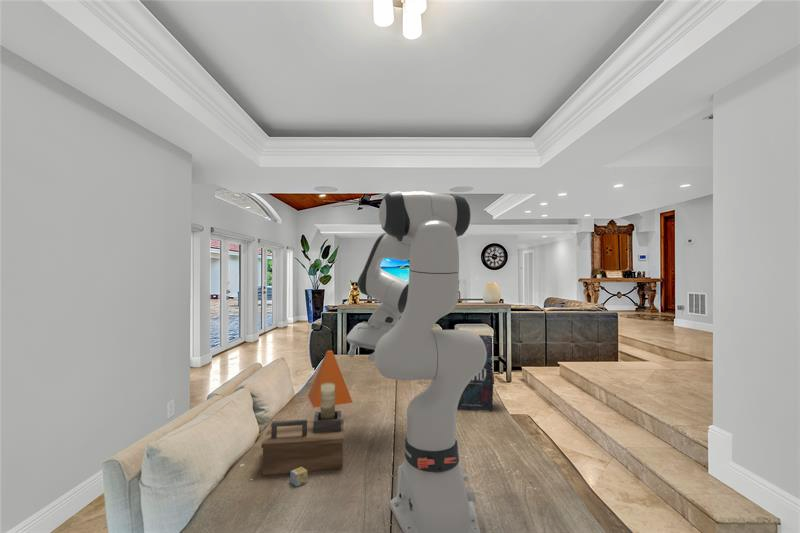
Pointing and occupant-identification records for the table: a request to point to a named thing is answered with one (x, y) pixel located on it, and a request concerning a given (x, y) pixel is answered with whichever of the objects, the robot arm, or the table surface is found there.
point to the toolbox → (303, 445)
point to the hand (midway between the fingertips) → (360, 358)
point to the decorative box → (479, 385)
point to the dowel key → (327, 401)
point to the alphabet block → (298, 476)
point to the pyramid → (329, 374)
